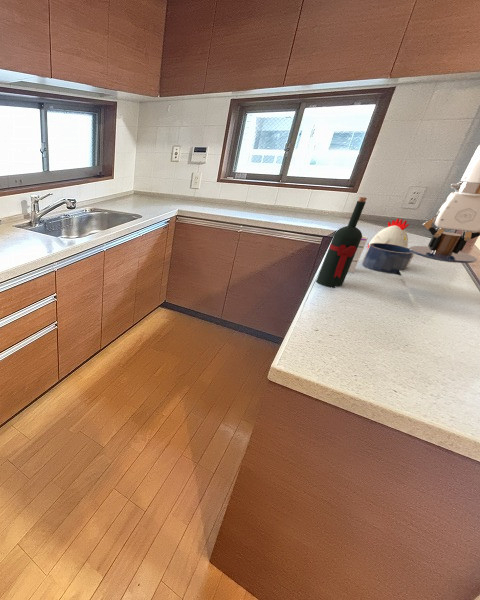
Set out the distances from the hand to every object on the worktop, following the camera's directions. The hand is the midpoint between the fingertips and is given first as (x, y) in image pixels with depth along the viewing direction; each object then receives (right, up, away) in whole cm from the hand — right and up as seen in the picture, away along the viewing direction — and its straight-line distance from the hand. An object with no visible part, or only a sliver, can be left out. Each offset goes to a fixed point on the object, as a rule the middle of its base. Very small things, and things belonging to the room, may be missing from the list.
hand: (443, 250), depth 100 cm
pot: (+12, -2, +33) cm, 35 cm away
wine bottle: (-23, -10, +16) cm, 30 cm away
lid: (0, -1, +1) cm, 1 cm away
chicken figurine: (+35, +8, +55) cm, 66 cm away
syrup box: (-8, -4, +29) cm, 30 cm away
